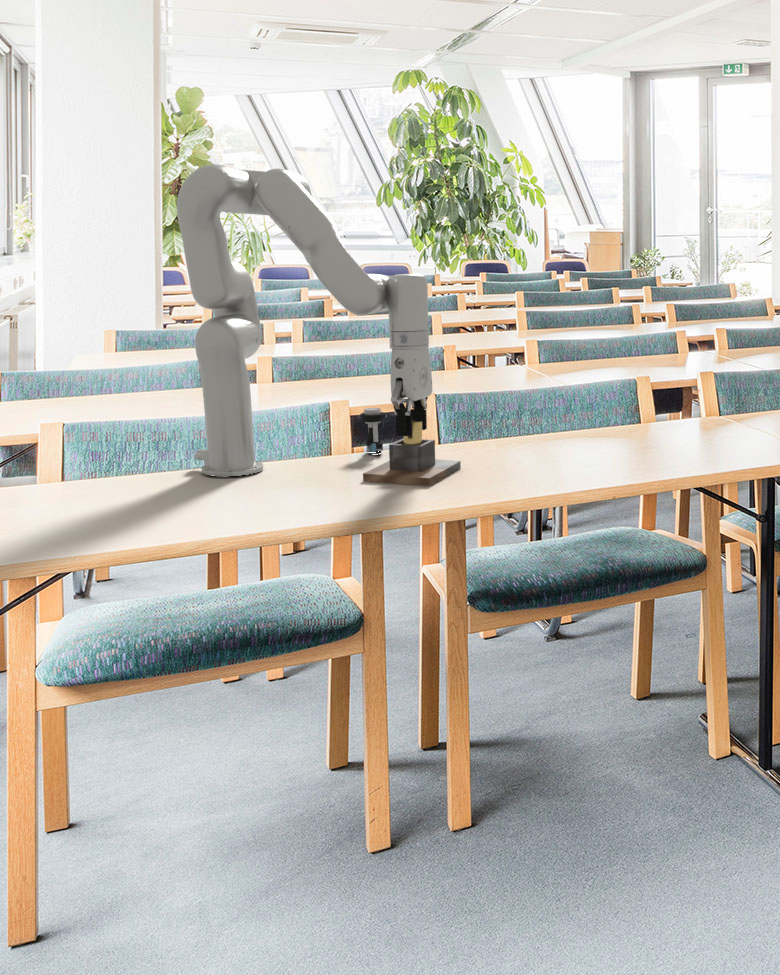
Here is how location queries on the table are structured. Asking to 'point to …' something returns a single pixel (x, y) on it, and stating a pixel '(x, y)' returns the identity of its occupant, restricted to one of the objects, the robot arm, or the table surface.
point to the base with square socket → (412, 465)
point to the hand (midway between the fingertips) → (411, 431)
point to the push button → (373, 429)
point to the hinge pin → (414, 434)
